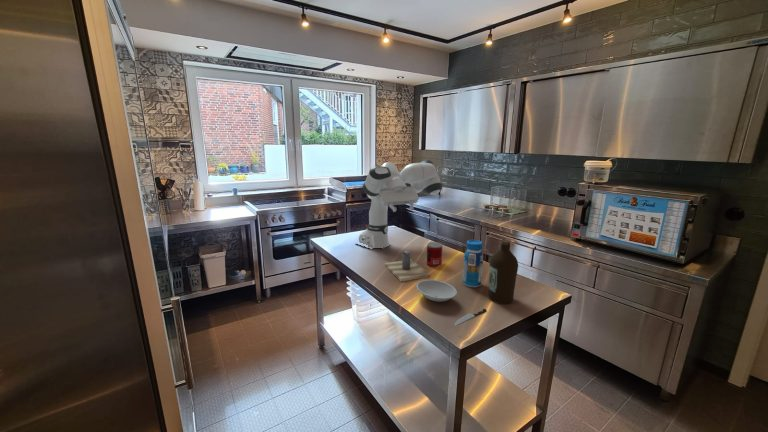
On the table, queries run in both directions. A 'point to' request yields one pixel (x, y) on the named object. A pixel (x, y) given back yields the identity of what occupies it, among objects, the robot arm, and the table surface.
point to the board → (407, 271)
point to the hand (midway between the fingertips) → (403, 210)
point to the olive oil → (502, 274)
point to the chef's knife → (468, 317)
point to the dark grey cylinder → (406, 260)
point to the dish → (436, 290)
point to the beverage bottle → (473, 264)
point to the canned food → (434, 254)
